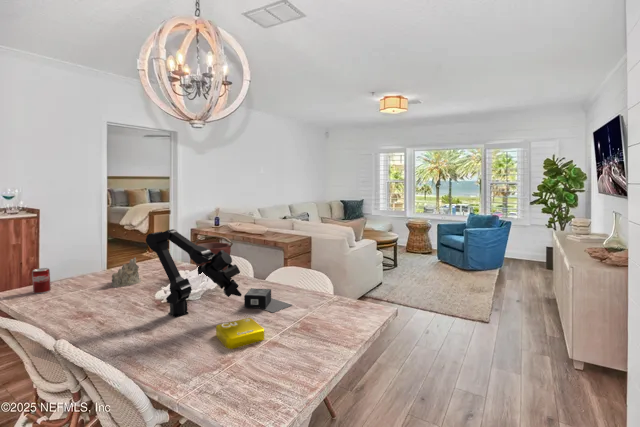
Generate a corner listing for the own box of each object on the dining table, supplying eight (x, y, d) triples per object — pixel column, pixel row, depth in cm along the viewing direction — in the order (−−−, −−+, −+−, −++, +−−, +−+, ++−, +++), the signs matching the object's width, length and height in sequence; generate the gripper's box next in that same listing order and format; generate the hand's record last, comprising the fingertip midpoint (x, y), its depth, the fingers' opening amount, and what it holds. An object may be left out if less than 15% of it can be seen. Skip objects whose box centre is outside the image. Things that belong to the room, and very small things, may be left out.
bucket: (238, 271, 231) (238, 234, 228) (220, 281, 210) (219, 239, 207) (206, 268, 237) (205, 232, 235) (185, 277, 216) (184, 237, 214)
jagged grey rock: (136, 276, 216) (134, 253, 213) (144, 283, 204) (141, 258, 201) (107, 283, 206) (104, 258, 203) (113, 291, 194) (110, 264, 191)
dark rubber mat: (272, 313, 161) (272, 312, 161) (249, 304, 171) (249, 304, 171) (292, 305, 171) (292, 304, 171) (269, 298, 181) (269, 297, 181)
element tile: (228, 351, 126) (228, 338, 125) (214, 335, 138) (214, 323, 137) (266, 340, 134) (266, 328, 134) (250, 327, 146) (250, 315, 146)
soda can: (35, 290, 188) (34, 268, 186) (52, 289, 191) (51, 267, 190) (31, 294, 181) (29, 272, 180) (48, 293, 184) (47, 270, 183)
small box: (266, 309, 165) (271, 301, 175) (265, 296, 164) (271, 288, 174) (244, 308, 166) (251, 300, 176) (243, 294, 165) (250, 287, 175)
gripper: (233, 264, 145) (259, 287, 151) (224, 255, 162) (248, 276, 168) (213, 285, 143) (241, 307, 149) (206, 274, 159) (231, 294, 165)
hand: (240, 295), depth 158 cm, fingers closed
